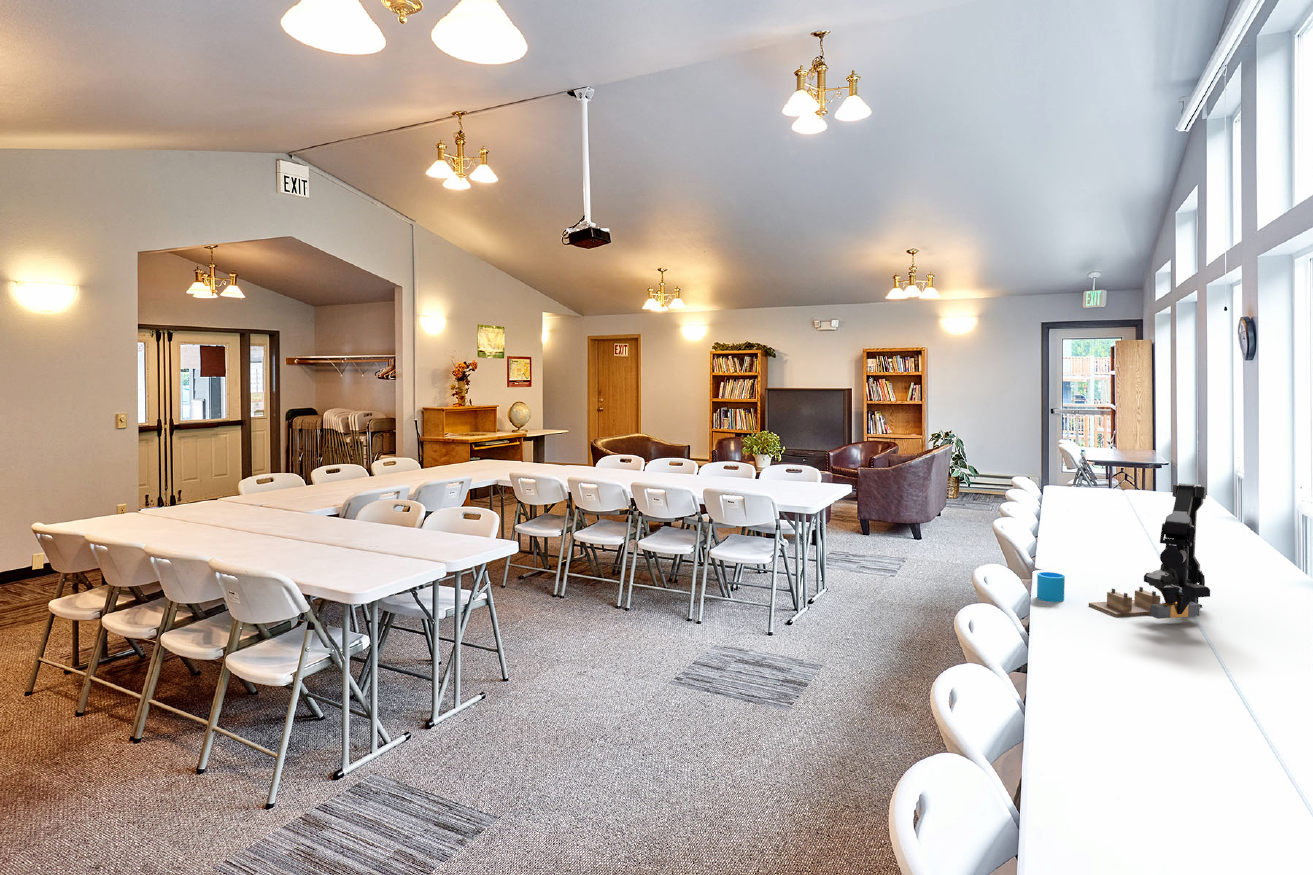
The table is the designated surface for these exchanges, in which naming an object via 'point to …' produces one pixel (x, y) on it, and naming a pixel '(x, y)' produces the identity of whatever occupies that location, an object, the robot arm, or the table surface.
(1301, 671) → the table surface
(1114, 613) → the tool rack
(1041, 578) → the mug
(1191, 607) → the spanner bar
